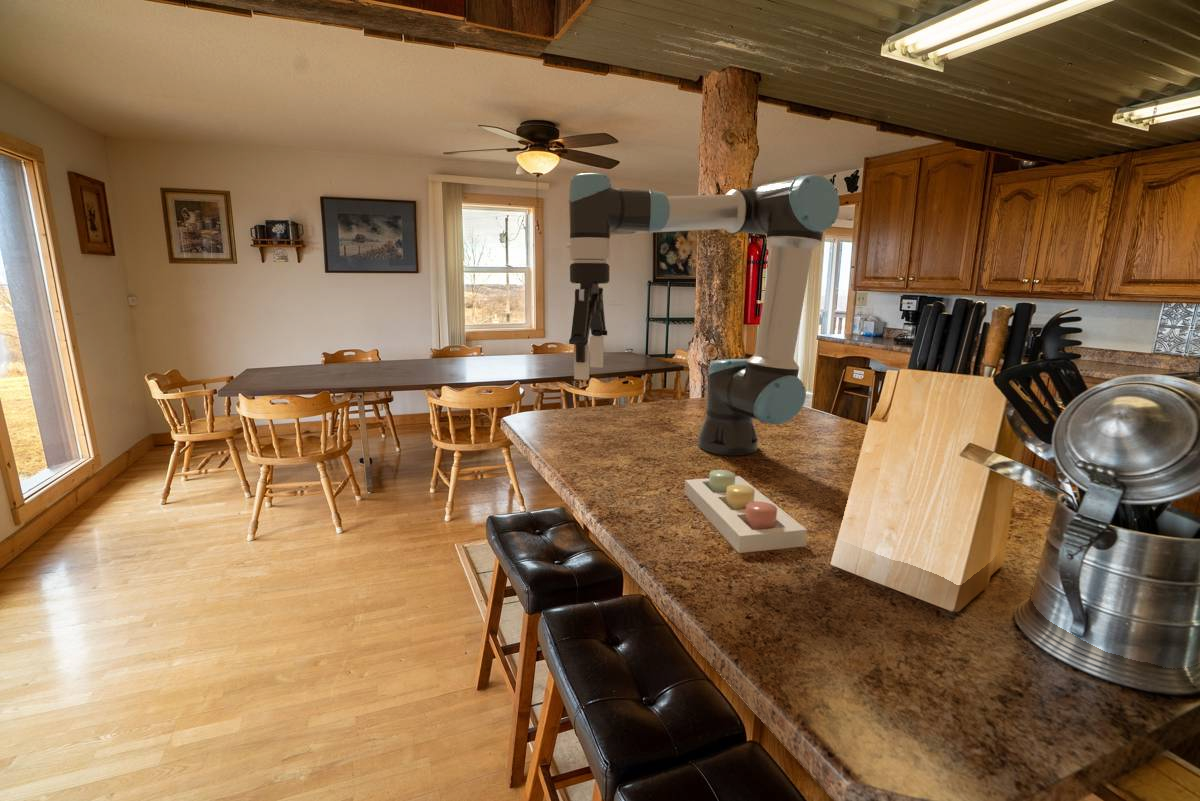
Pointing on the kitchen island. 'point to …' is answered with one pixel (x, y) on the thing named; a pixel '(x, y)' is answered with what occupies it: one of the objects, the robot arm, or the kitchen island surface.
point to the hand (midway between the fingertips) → (589, 373)
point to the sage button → (721, 480)
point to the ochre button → (739, 496)
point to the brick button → (761, 515)
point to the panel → (734, 524)
